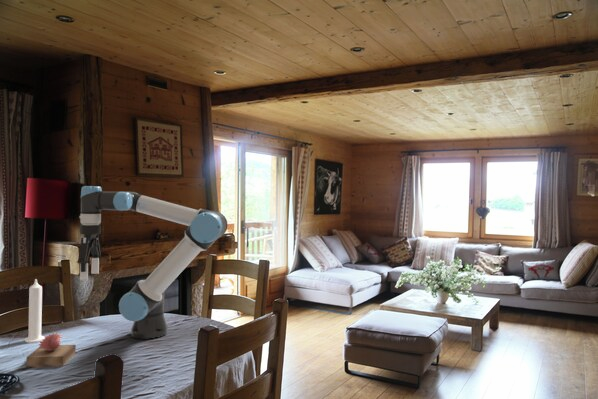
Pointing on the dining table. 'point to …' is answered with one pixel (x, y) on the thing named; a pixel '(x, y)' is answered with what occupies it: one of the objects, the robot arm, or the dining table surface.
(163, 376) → the dining table surface
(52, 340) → the flower
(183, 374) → the dining table surface
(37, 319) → the candle
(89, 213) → the robot arm
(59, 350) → the walnut base
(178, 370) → the dining table surface
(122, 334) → the dining table surface
